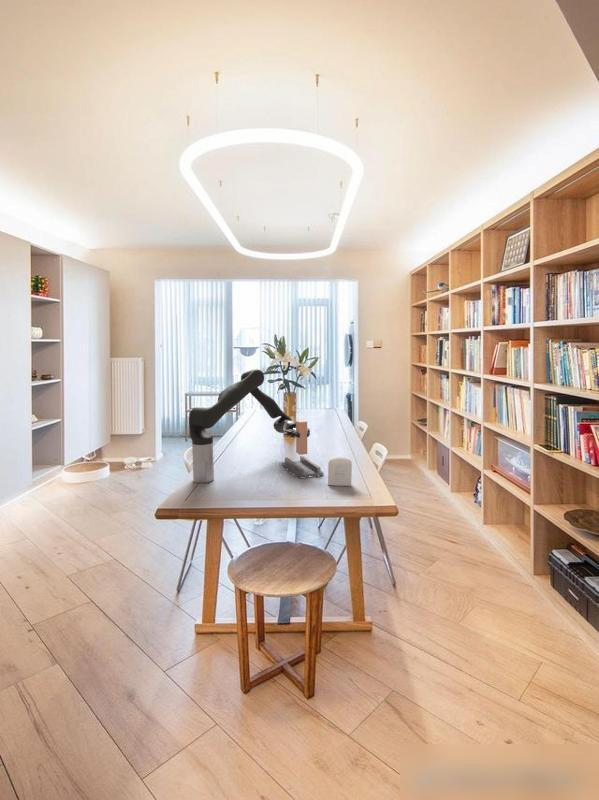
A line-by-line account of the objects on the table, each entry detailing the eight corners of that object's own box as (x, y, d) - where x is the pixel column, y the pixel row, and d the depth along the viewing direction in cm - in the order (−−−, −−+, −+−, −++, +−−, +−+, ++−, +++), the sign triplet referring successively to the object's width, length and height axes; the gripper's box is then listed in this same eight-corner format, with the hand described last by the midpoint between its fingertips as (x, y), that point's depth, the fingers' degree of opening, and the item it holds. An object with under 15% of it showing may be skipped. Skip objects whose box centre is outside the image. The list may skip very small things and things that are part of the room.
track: (323, 475, 196) (323, 467, 196) (297, 478, 192) (297, 470, 191) (305, 463, 219) (305, 455, 218) (281, 465, 214) (281, 457, 214)
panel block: (299, 454, 201) (299, 422, 199) (296, 452, 206) (295, 420, 204) (307, 454, 203) (307, 421, 201) (303, 451, 207) (303, 420, 205)
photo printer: (351, 483, 184) (351, 456, 183) (351, 486, 180) (352, 458, 178) (328, 483, 185) (328, 455, 184) (327, 486, 181) (327, 458, 179)
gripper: (279, 422, 214) (289, 428, 198) (304, 420, 218) (317, 426, 202) (279, 437, 215) (289, 444, 199) (305, 434, 219) (317, 441, 203)
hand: (303, 435), depth 201 cm, fingers closed on panel block, 4 cm apart
